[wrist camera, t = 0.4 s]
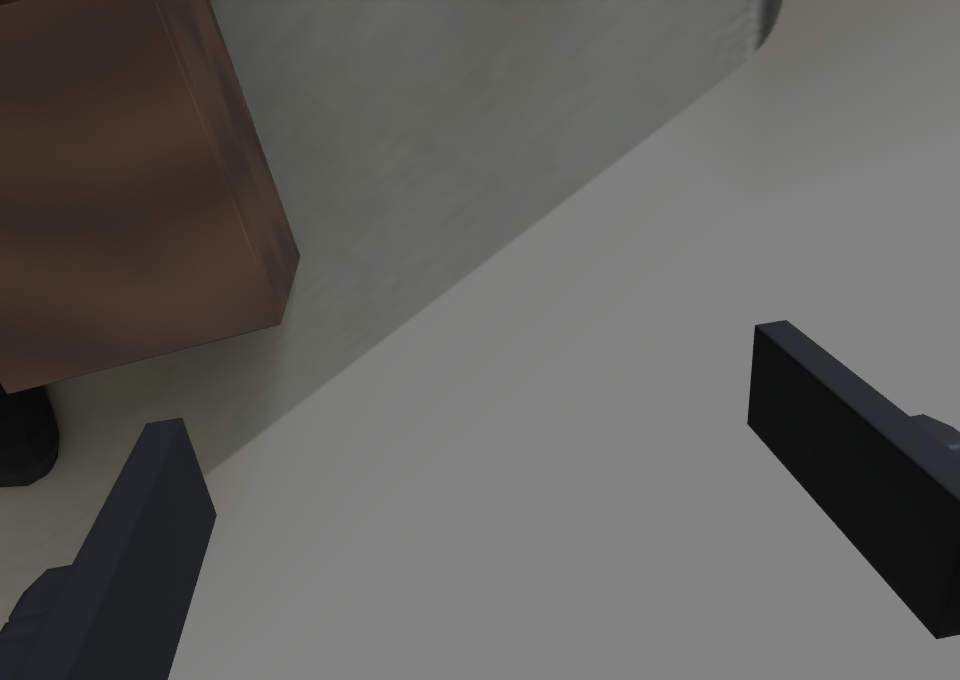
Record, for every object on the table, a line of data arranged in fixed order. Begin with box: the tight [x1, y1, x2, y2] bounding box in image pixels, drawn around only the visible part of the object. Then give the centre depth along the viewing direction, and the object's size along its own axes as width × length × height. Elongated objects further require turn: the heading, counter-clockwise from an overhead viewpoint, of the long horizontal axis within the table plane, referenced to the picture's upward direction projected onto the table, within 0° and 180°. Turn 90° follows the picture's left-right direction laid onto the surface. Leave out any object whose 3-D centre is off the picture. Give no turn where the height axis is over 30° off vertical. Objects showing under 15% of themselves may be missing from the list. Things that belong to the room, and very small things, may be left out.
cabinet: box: [0, 0, 300, 394], centre depth 33 cm, size 15×13×10 cm
